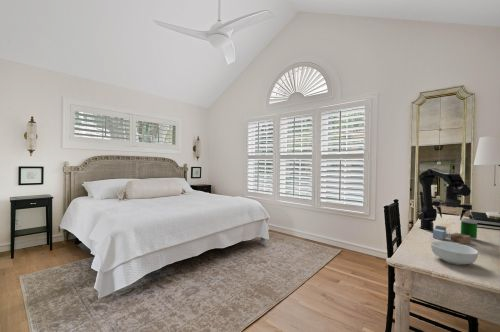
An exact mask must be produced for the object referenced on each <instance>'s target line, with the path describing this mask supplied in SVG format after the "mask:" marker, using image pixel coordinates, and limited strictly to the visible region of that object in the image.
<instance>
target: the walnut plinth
mask: <svg viewBox="0 0 500 332" xmlns="http://www.w3.org/2000/svg"><path fill="white" fill-rule="evenodd" d="M450 236H451V238H449V239H450V241H449V242H453V243H458V244H462V245H467V244H470V243H471V240H470V236H469V235H464V234H461V232H453V233H450Z"/></svg>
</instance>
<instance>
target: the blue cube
mask: <svg viewBox="0 0 500 332" xmlns="http://www.w3.org/2000/svg"><path fill="white" fill-rule="evenodd" d="M446 235H447V230H446V231H444V230H440V229H435V228H433V230H432V239H433V238H434V239H436V240H440V241H444V240H446V239H447V237H446Z"/></svg>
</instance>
